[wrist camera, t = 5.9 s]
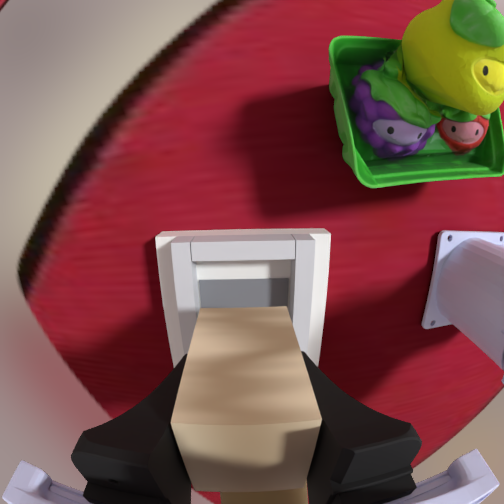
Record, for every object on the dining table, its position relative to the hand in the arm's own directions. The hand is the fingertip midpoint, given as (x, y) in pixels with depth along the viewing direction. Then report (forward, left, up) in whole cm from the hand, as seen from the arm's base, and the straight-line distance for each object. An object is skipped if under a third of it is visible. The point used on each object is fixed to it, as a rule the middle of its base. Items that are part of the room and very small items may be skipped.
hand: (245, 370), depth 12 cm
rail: (0, +3, -7) cm, 8 cm away
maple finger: (0, 0, -2) cm, 2 cm away
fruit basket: (-10, -13, -7) cm, 18 cm away
